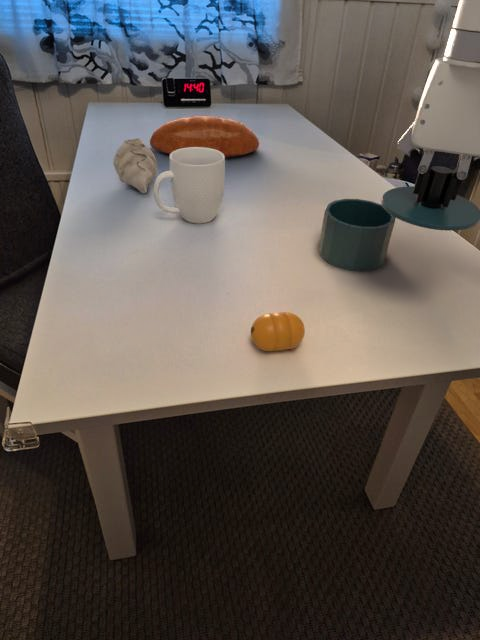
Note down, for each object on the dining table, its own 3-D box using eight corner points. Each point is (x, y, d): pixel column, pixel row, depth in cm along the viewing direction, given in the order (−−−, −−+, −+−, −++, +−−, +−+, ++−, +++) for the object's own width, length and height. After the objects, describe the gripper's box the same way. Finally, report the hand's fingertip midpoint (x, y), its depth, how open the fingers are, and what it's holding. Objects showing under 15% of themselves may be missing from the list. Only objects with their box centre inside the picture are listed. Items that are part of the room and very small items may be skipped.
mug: (165, 236, 88) (160, 170, 80) (148, 213, 96) (142, 152, 88) (232, 223, 94) (234, 161, 86) (212, 203, 101) (211, 144, 93)
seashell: (164, 174, 114) (161, 134, 108) (152, 198, 102) (148, 154, 96) (124, 172, 114) (119, 132, 108) (108, 195, 103) (101, 151, 96)
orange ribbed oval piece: (295, 331, 66) (300, 303, 63) (307, 354, 62) (312, 325, 59) (245, 336, 65) (247, 308, 62) (254, 361, 61) (256, 331, 58)
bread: (264, 162, 124) (266, 129, 119) (148, 162, 121) (145, 128, 115) (253, 138, 142) (255, 108, 136) (152, 137, 138) (149, 106, 133)
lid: (475, 203, 67) (491, 161, 63) (481, 242, 57) (500, 196, 53) (384, 188, 70) (394, 147, 66) (375, 223, 60) (386, 178, 56)
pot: (387, 245, 88) (398, 205, 83) (380, 277, 79) (392, 234, 74) (325, 234, 92) (332, 194, 86) (312, 262, 82) (319, 220, 77)
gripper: (553, 52, 52) (491, 201, 63) (409, 39, 56) (375, 182, 67) (567, 61, 46) (496, 223, 58) (405, 47, 50) (369, 201, 62)
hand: (432, 200), depth 62 cm, fingers closed on lid, 2 cm apart
